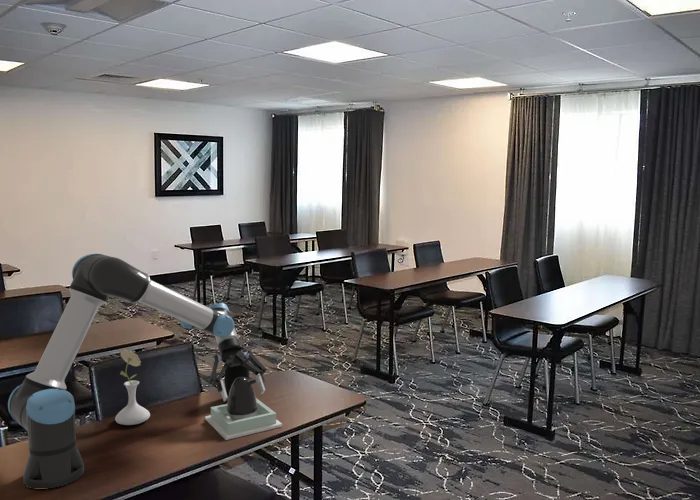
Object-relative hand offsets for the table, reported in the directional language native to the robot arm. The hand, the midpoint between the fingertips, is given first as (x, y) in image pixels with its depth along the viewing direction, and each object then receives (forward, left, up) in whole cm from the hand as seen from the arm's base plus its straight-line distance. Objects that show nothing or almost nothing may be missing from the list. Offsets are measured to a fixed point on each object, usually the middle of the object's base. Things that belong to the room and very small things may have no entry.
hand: (244, 395), depth 197 cm
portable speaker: (+7, +25, -10) cm, 28 cm away
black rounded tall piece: (0, +2, -9) cm, 9 cm away
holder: (0, +2, -10) cm, 10 cm away
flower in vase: (-32, +24, -10) cm, 41 cm away
